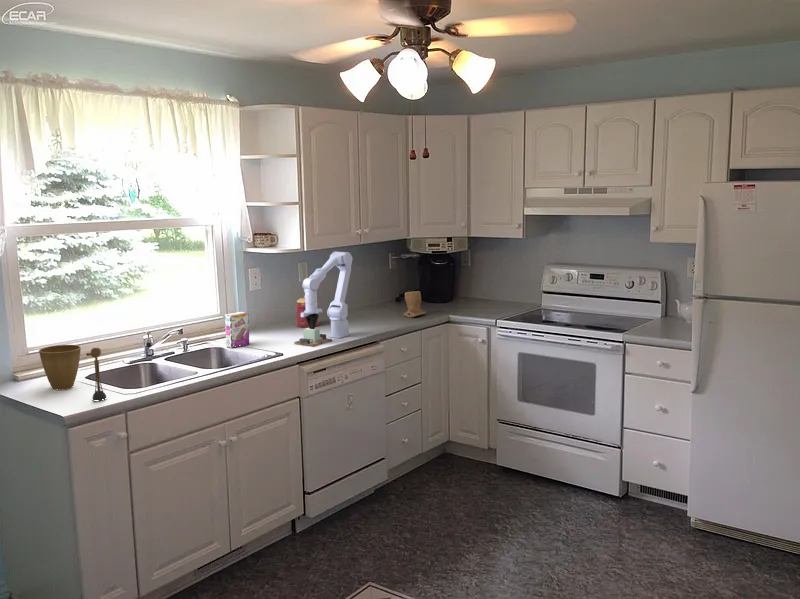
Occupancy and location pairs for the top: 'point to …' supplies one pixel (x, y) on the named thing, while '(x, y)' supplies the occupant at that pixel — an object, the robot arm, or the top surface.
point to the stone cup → (413, 304)
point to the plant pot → (60, 364)
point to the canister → (299, 309)
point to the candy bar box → (237, 329)
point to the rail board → (310, 342)
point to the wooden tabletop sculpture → (97, 374)
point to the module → (312, 334)
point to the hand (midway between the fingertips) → (312, 329)
